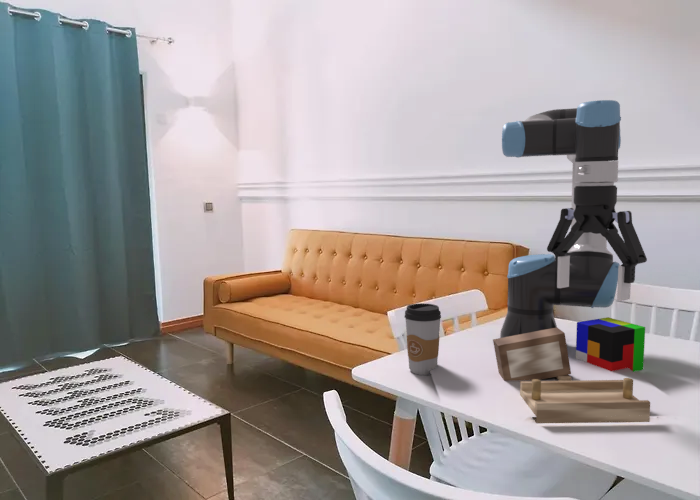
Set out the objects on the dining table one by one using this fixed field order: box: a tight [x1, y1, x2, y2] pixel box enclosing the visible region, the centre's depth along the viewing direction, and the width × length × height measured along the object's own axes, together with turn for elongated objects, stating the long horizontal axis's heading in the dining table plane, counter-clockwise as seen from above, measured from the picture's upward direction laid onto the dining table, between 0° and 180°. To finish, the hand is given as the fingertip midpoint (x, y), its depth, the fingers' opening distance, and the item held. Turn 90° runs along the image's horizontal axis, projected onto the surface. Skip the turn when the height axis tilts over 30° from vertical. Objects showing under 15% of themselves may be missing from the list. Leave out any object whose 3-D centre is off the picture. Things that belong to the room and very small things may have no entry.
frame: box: [492, 326, 572, 382], centre depth 115 cm, size 14×5×9 cm, turn 89°
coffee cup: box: [404, 302, 442, 376], centre depth 123 cm, size 8×8×15 cm
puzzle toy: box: [575, 317, 646, 373], centre depth 124 cm, size 10×10×10 cm
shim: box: [555, 374, 572, 381], centre depth 116 cm, size 6×2×2 cm, turn 179°
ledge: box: [519, 377, 651, 424], centre depth 101 cm, size 10×20×6 cm, turn 89°
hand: (591, 293), depth 106 cm, fingers open, 13 cm apart
